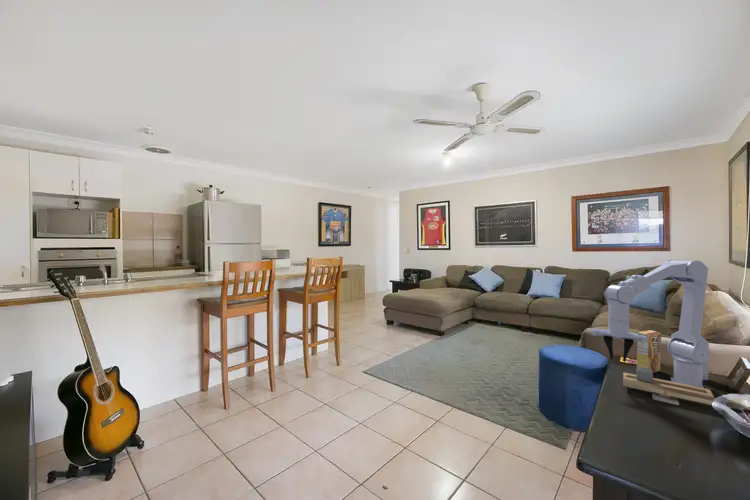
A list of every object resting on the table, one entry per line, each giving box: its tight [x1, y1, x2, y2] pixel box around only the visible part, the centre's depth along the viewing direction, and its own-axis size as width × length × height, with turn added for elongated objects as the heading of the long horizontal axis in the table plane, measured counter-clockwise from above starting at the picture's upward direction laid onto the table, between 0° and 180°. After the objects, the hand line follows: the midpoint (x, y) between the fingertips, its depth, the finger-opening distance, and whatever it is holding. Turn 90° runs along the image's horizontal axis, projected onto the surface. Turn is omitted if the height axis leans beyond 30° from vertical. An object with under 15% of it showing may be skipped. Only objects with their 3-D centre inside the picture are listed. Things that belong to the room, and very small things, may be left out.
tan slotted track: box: [622, 371, 715, 406], centre depth 102 cm, size 9×21×4 cm, turn 51°
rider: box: [635, 365, 654, 383], centre depth 106 cm, size 5×4×4 cm
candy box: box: [636, 329, 662, 373], centre depth 125 cm, size 9×4×15 cm, turn 116°
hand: (618, 359), depth 110 cm, fingers open, 3 cm apart
